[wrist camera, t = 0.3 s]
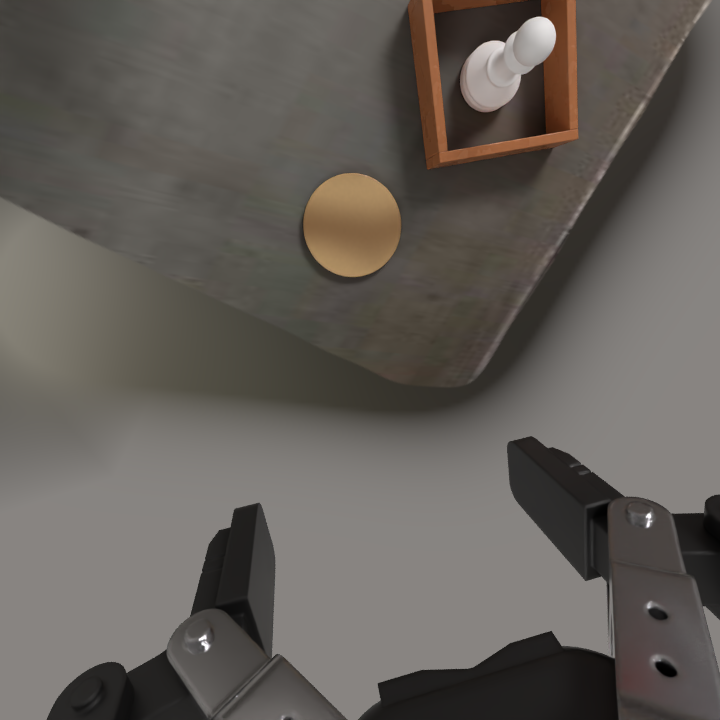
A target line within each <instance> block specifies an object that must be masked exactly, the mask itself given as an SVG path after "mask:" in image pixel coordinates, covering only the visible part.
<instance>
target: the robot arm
mask: <svg viewBox="0 0 720 720" xmlns="http://www.w3.org/2000/svg"><path fill="white" fill-rule="evenodd" d="M507 453H508V467H509V480H510V487H511V491H512V493H513V495H514V498H515V499H516V501H517V502H518V504H519V505H520V506H521V507H522V508H523V509H524V511H525V512H526V513H527V514H528V515H529V516H530V517H531V519H532V520H533V521H534V522H535V523H536V524H537V526H538V527H539V528H540V529H541V530H542V531H543V532H544V534H545V535H546V536H547V537H548V538H549V539H550V540H551V541H552V543H553V544H554V545H555V546H556V547H557V549H558V550H559V551H560V552H561V553H562V554H563V555H564V557H565V558H566V559H567V560H568V561H569V562H570V564H571V565H572V566H573V567H574V568H575V569H576V570H577V571H578V573H579V574H580V575H581V576H582V577H583V578H584V580H585V581H587V580H591V579H594V578H597V577H601V576H602V577H603V578H604V580H606V582H607V618H608V619H607V621H608V654H609V655H608V656H607V655H605V654H602V653H598V652H596V651H592V650H589V649H584V648H579V647H570V646H561V645H560V643H559V642H558V640H557V639H556V637H555V636H554V634H553V633H552V631H550V632H547V633H543V634H540V635H536V636H533V637H530V638H526V639H523V640H520V641H517V642H513V643H510V644H508V645H507V646H506V647H504V648H502V649H501V650H499V651H498V652H496V653H495V654H493V655H492V656H490V657H489V658H487V659H486V660H484V661H483V662H481V663H480V664H478V665H477V666H475V667H473V668H470V669H446V670H445V669H444V670H421V671H417V672H414V673H410V674H407V675H404V676H400V677H398V678H394V679H390V680H387V681H384V682H381V683H378V688H379V693H380V698H381V701H379V702H378V703H376V704H375V705H373V706H372V707H371V708H370V709H368V710H367V711H366V712H365V713H364V714H363V715H362V716H361V717H360V718H359V719H358V720H720V672H719V668H718V665H717V661H716V657H715V653H714V649H713V646H712V641H711V637H710V633H709V630H708V626H707V622H706V618H705V614H704V610H703V606H706V607H707V608H708V609H709V610H710V611H711V612H712V613H713V614H714V615H715V616H716V617H717V618H718V619H719V620H720V495H714V496H711V497H710V498H708V499H707V500H706V502H705V509H704V513H693V514H692V513H691V514H689V513H688V514H671V513H670V512H669V511H668V510H667V509H666V508H664V507H663V506H661V505H659V504H658V503H655V502H653V501H650V500H647V499H644V498H639V497H624V496H623V495H622V494H620V493H619V492H618V491H617V490H615V489H614V488H613V487H611V486H610V485H609V484H608V483H606V482H605V481H604V480H602V479H601V478H600V477H598V476H597V475H596V474H595V473H593V472H592V473H591V471H590V470H589V469H588V468H587V467H585V466H584V465H581V463H580V462H579V461H578V460H576V459H575V458H574V457H572V456H571V455H570V454H568V453H565V452H563V451H561V450H558V449H555V448H553V447H552V448H547V447H545V446H544V445H543V444H542V443H540V442H539V441H538V440H537V439H535V438H534V437H532V436H530V437H526V438H522V439H518V440H514V441H510V442H509V443H508V445H507ZM274 586H275V555H274V548H273V544H272V540H271V537H270V533H269V530H268V527H267V523H266V519H265V516H264V512H263V509H262V506H261V504H260V503H256V504H252V505H248V506H244V507H240V508H236V509H235V510H234V513H233V518H232V523H231V527H230V528H227V529H223V530H219V531H218V533H217V534H216V535H215V537H214V538H213V540H212V541H211V542H210V544H209V546H208V550H207V554H206V557H205V562H204V565H203V569H202V574H201V577H200V580H199V584H198V589H197V592H196V596H195V600H194V604H193V607H192V611H191V615H190V617H189V618H188V619H186V620H185V621H184V622H183V623H182V624H181V625H180V626H179V627H178V628H177V629H176V630H175V632H174V633H173V635H172V636H171V638H170V640H169V643H168V646H167V649H166V650H165V651H164V652H162V653H161V654H160V655H158V656H156V657H155V658H153V659H151V660H149V661H147V662H146V663H144V664H142V665H140V666H138V667H137V668H135V669H133V670H131V671H129V672H128V673H126V671H125V669H124V667H123V666H122V665H121V664H119V663H116V662H107V663H103V664H100V665H97V666H95V667H93V668H91V669H89V670H87V671H86V672H84V673H82V674H81V675H80V676H78V677H77V678H76V679H75V680H74V681H73V682H72V683H70V684H69V685H68V686H67V687H66V688H65V690H64V691H63V692H62V693H61V694H60V696H59V697H58V698H57V700H56V701H55V704H54V705H53V707H52V709H51V711H50V713H49V716H48V718H47V720H347V719H346V718H345V717H344V716H343V715H342V714H341V713H340V712H339V711H338V710H337V709H336V708H335V707H334V706H333V705H332V704H331V703H330V702H329V701H328V700H327V699H326V698H325V697H324V696H323V695H322V694H321V693H320V692H319V691H318V690H317V689H316V688H315V687H314V686H313V685H312V684H311V683H310V682H309V681H308V680H307V679H306V678H305V677H304V676H302V674H300V672H299V671H298V670H296V669H295V668H294V667H293V666H292V665H291V664H290V663H289V662H288V661H287V660H286V659H285V658H284V657H283V656H281V655H280V654H276V655H275V656H274V657H273V658H272V637H273V612H274V611H273V610H274Z"/></svg>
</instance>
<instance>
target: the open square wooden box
mask: <svg viewBox="0 0 720 720" xmlns="http://www.w3.org/2000/svg"><path fill="white" fill-rule="evenodd" d="M522 1H529V0H410V2H409V4H408V13H409V21H410V30H411V38H412V47H413V55H414V63H415V72H416V80H417V89H418V97H419V105H420V114H421V122H422V131H423V139H424V147H425V156H426V164H427V169H434V168H440V167H445V166H451V165H457V164H462V163H468V162H474V161H480V160H485V159H491V158H497V157H502V156H508V155H514V154H520V153H525V152H531V151H537V150H542V149H548V148H554V147H557V146H559V145H562V144H565V143H568V142H571V141H574V140H576V139H578V107H577V53H576V0H541V16H542V17H544V18H547V19H548V20H550V21H551V22H552V24H553V25H554V28H555V31H556V41H555V45H554V48H553V50H552V52H551V53H550V55H549V56H548V57H547V58H546V59H545V60H544V61H543V67H544V92H545V118H546V134H545V135H539V136H534V137H528V138H522V139H516V140H510V141H504V142H499V143H493V144H487V145H481V146H475V147H469V148H464V149H458V150H452V151H448V148H447V138H446V129H445V119H444V109H443V100H442V90H441V81H440V71H439V61H438V52H437V42H436V33H435V23H434V13H440V12H447V11H455V10H462V9H470V8H477V7H485V6H492V5H499V4H507V3H514V2H522Z"/></svg>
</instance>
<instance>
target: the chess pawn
mask: <svg viewBox="0 0 720 720" xmlns="http://www.w3.org/2000/svg"><path fill="white" fill-rule="evenodd" d="M555 41H556V31H555V28H554V25H553V24H552V22H551V21H550V20H548V19H547V18H544V17H535V18H531V19H529V20H528V21H526V22H525V23H524V24H523V25H522V26H521V27H520V28H519V30H518V31H516V32H514V33H513V34H511V35H510V37H509V38H508V39H507V41H506V43H504V42H501V41H489V42H485V43H483V44H482V45H480V46H479V47H477V48H476V50H475V51H474V52H473V53H472V54H471V55H470V56H469V57H468V58H467V59H466V61H465V63H464V65H463V67H462V71H461V75H460V87H461V92H462V95H463V97H464V99H465V101H466V102H467V103H468V105H469V106H470V107H472V108H473V109H475V110H477V111H480V112H491V111H495V110H497V109H498V108H500V107H501V106H503V105H505V104H506V103H508V102H509V101H510V100H511V99H512V98H513V97H514V95H515V93H516V92H517V90H518V88H519V84H520V80H521V74H526V73H528V72H529V71H531V70H532V69H533V68H534V67H535V65H538V64H540V63H541V62H543V61H544V60H545V59H546V58H547V57H548V56H549V55H550V53H551V52H552V50H553V48H554V45H555Z"/></svg>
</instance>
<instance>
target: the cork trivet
mask: <svg viewBox="0 0 720 720" xmlns="http://www.w3.org/2000/svg"><path fill="white" fill-rule="evenodd" d="M303 231H304V237H305V241H306V244H307V246H308V249H309V250H310V252H311V254H312V255H313V257H314V258H315V259H316V260H317V261H318V262H319V263H320V264H321V265H322V266H323V267H324V268H326V269H327V270H329V271H331V272H333V273H335V274H337V275H341V276H346V277H359V276H364V275H368V274H370V273H373V272H375V271H376V270H378V269H380V268H381V267H382V266H383V265H385V263H386V262H387V261H388V260H389V259H390V258H391V257H392V255H393V253H394V252H395V250H396V248H397V245H398V243H399V239H400V234H401V217H400V212H399V209H398V206H397V203H396V201H395V199H394V198H393V196H392V194H391V193H390V192H389V191H388V189H387V188H386V187H385V186H384V185H382V184H381V183H380V182H378V181H377V180H375V179H373V178H371V177H369V176H366V175H363V174H358V173H346V174H341V175H337V176H334V177H332V178H330V179H328V180H327V181H325V182H324V183H323V184H321V185H320V186H319V187H318V188H317V189H316V190H315V192H314V193H313V194H312V196H311V197H310V199H309V201H308V203H307V206H306V209H305V213H304V218H303Z"/></svg>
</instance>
